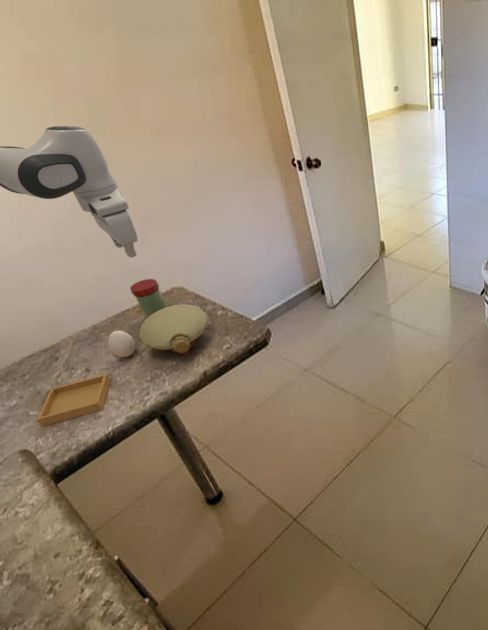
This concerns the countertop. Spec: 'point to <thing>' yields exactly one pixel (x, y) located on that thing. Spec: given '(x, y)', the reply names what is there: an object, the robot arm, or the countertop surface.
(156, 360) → the countertop surface
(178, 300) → the countertop surface
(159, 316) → the flask
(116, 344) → the egg
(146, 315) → the jar
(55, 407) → the tray
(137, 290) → the lid
